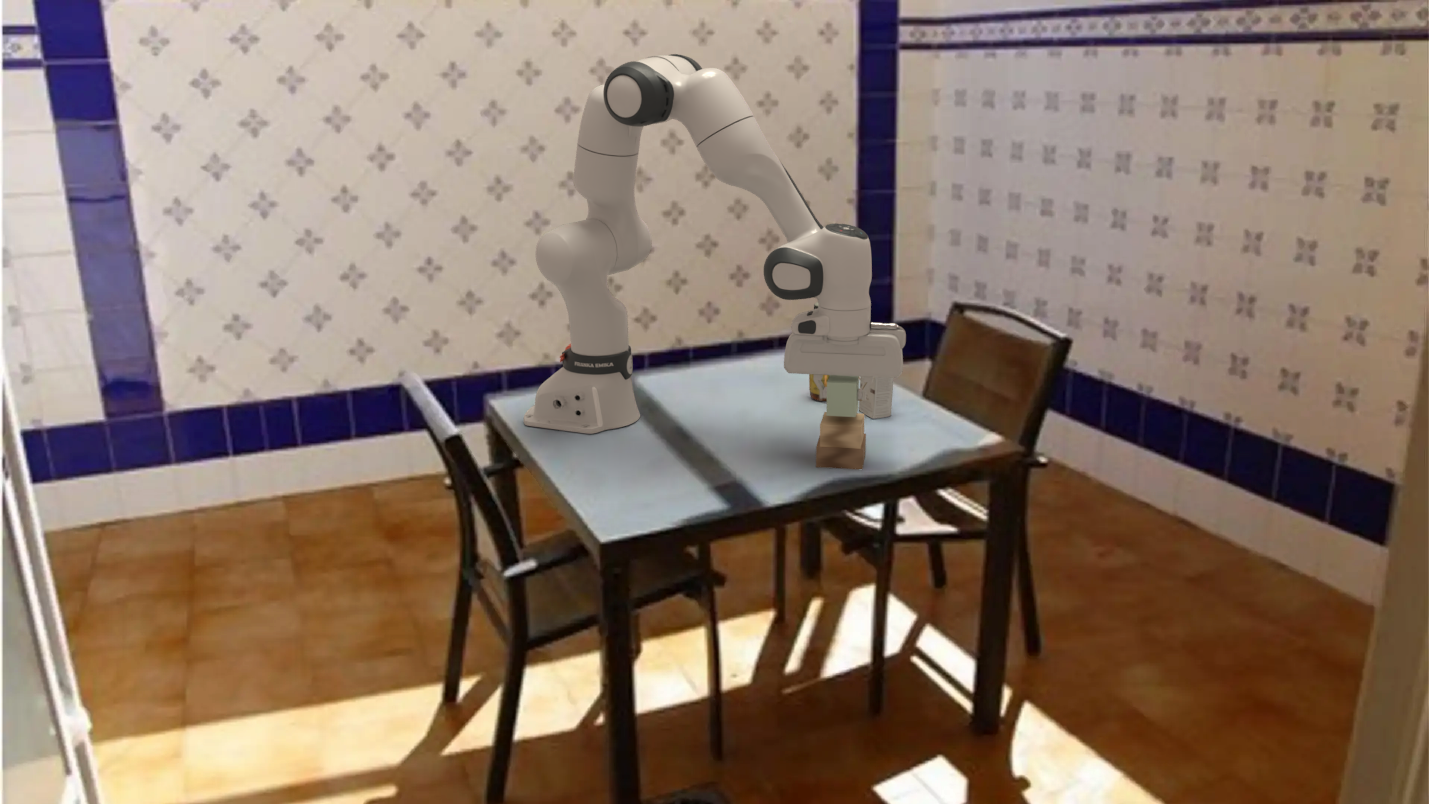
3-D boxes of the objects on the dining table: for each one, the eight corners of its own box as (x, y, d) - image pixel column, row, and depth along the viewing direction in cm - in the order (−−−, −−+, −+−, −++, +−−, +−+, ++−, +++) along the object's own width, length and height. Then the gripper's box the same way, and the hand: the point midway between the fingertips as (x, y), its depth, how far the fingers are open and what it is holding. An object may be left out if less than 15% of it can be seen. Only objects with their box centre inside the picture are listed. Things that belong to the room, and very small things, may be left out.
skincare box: (857, 410, 233) (858, 351, 230) (877, 407, 235) (879, 348, 231) (873, 419, 228) (875, 359, 224) (893, 416, 230) (895, 356, 226)
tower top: (819, 446, 204) (819, 424, 203) (824, 433, 211) (824, 411, 210) (860, 448, 203) (861, 426, 202) (864, 435, 209) (864, 413, 208)
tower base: (815, 468, 205) (816, 447, 204) (820, 452, 213) (820, 431, 212) (862, 471, 204) (862, 449, 203) (865, 454, 211) (865, 433, 210)
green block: (826, 415, 204) (827, 382, 202) (829, 406, 208) (830, 373, 206) (855, 417, 203) (856, 383, 201) (858, 407, 207) (859, 375, 205)
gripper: (907, 318, 201) (904, 396, 206) (787, 314, 205) (787, 390, 210) (905, 328, 195) (902, 407, 200) (782, 323, 199) (782, 401, 204)
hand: (842, 399), depth 205 cm, fingers closed on green block, 5 cm apart
